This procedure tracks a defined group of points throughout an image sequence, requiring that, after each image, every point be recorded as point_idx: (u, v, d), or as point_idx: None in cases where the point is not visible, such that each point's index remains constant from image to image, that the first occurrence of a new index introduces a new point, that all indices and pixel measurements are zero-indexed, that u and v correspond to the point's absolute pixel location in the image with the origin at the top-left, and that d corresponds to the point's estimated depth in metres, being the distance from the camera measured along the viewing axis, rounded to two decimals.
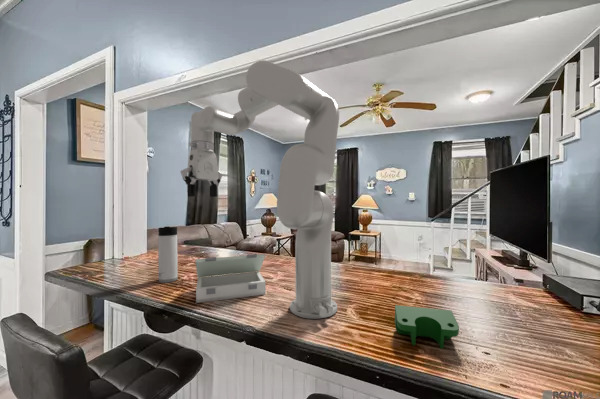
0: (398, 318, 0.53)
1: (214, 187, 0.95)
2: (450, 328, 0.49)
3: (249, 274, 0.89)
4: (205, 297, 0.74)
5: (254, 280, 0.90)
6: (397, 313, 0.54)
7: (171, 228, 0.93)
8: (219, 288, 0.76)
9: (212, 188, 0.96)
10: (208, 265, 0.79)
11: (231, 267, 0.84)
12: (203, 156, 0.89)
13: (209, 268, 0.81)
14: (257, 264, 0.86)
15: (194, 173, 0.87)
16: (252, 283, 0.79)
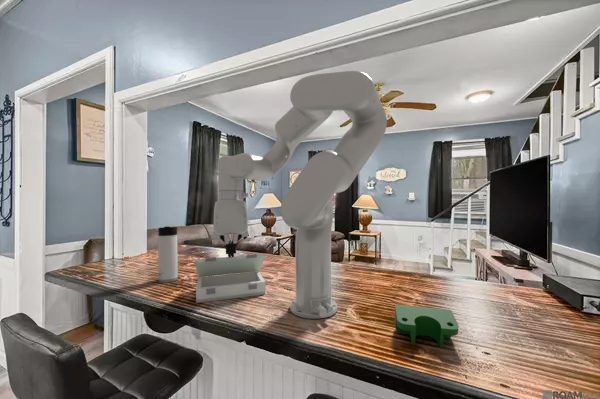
0: (398, 317, 0.53)
1: None
2: (450, 327, 0.50)
3: (249, 274, 0.89)
4: (205, 297, 0.74)
5: (254, 280, 0.90)
6: (397, 312, 0.55)
7: (171, 228, 0.93)
8: (219, 288, 0.76)
9: None
10: (208, 265, 0.79)
11: (231, 267, 0.84)
12: None
13: (209, 268, 0.81)
14: (257, 264, 0.86)
15: None
16: (252, 283, 0.79)
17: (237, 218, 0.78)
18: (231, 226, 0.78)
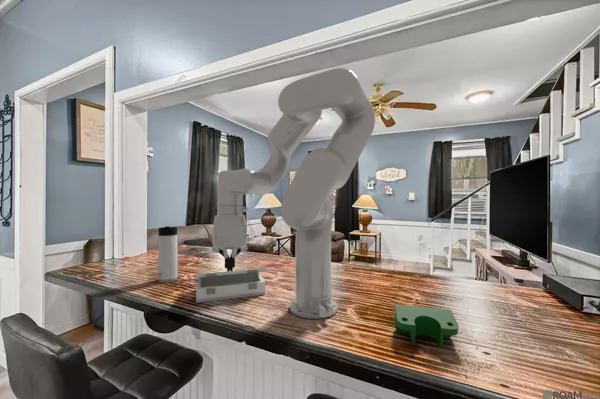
0: (398, 317, 0.53)
1: None
2: (449, 327, 0.50)
3: (249, 274, 0.89)
4: (205, 297, 0.74)
5: (254, 280, 0.90)
6: (397, 312, 0.55)
7: (171, 228, 0.93)
8: (219, 288, 0.76)
9: None
10: None
11: None
12: None
13: None
14: None
15: None
16: (252, 283, 0.79)
17: (236, 233, 0.78)
18: (230, 240, 0.78)
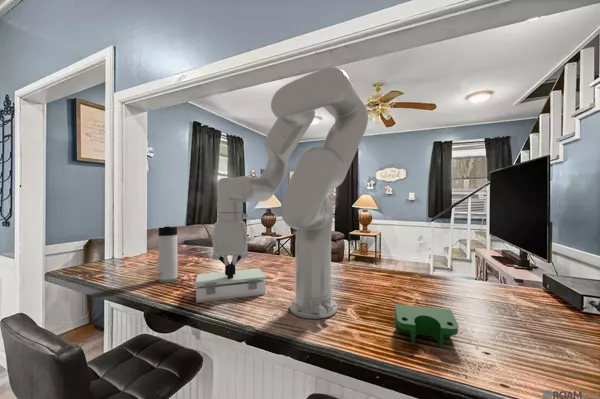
0: (398, 317, 0.53)
1: (229, 265, 0.81)
2: (449, 327, 0.50)
3: None
4: (205, 297, 0.74)
5: None
6: (397, 312, 0.55)
7: (171, 228, 0.93)
8: (219, 288, 0.76)
9: (230, 267, 0.80)
10: None
11: None
12: None
13: None
14: None
15: None
16: (252, 283, 0.79)
17: (237, 240, 0.78)
18: (231, 247, 0.78)
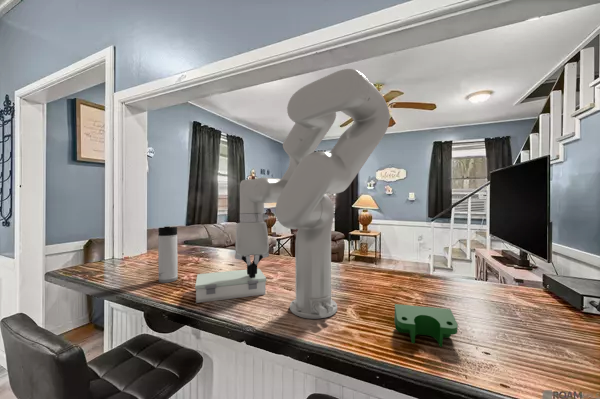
0: (398, 316, 0.54)
1: None
2: (449, 326, 0.50)
3: None
4: (205, 297, 0.74)
5: None
6: (397, 312, 0.55)
7: (171, 228, 0.93)
8: (219, 288, 0.76)
9: None
10: None
11: None
12: None
13: None
14: None
15: None
16: None
17: (259, 240, 0.80)
18: (253, 247, 0.80)
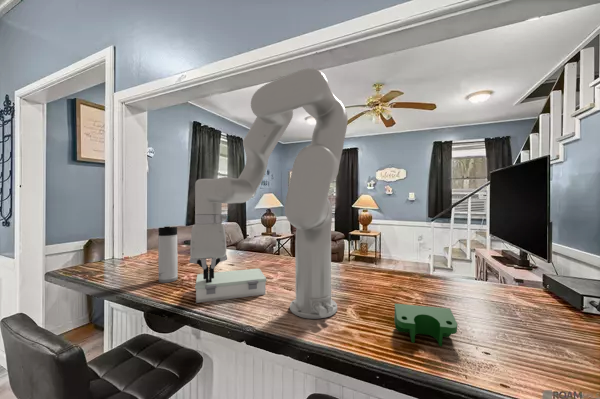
0: (398, 316, 0.54)
1: None
2: (449, 325, 0.50)
3: None
4: (205, 297, 0.74)
5: None
6: (397, 311, 0.55)
7: (171, 228, 0.93)
8: (219, 288, 0.76)
9: (208, 271, 0.78)
10: None
11: None
12: None
13: None
14: None
15: None
16: None
17: (215, 242, 0.76)
18: (208, 250, 0.75)
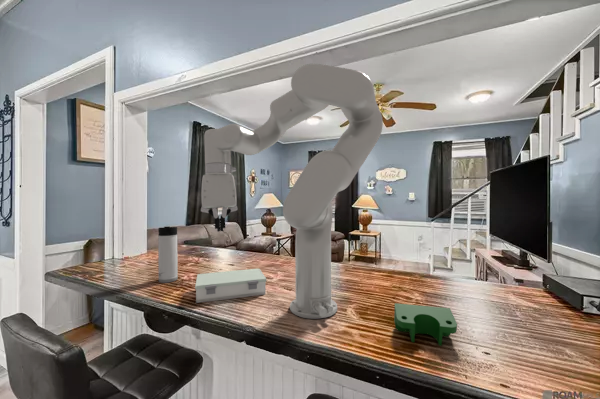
0: (397, 315, 0.54)
1: None
2: (448, 325, 0.50)
3: None
4: (205, 297, 0.74)
5: None
6: (396, 311, 0.55)
7: (171, 228, 0.93)
8: (219, 288, 0.76)
9: None
10: None
11: None
12: None
13: None
14: None
15: None
16: None
17: (225, 191, 0.77)
18: (219, 199, 0.77)
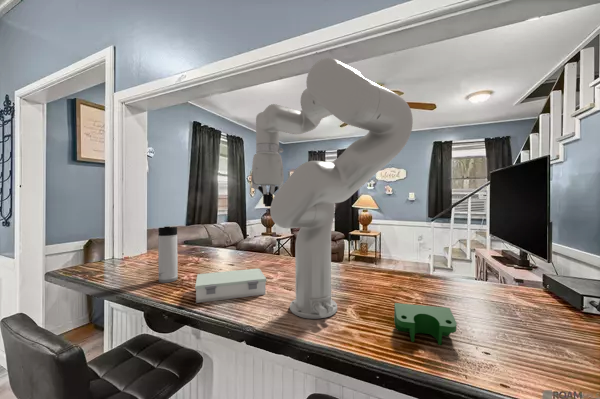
0: (397, 315, 0.54)
1: None
2: (448, 325, 0.51)
3: None
4: (205, 297, 0.74)
5: None
6: (396, 310, 0.56)
7: (171, 228, 0.93)
8: (219, 288, 0.76)
9: None
10: None
11: None
12: None
13: None
14: None
15: None
16: None
17: (274, 170, 0.84)
18: (269, 177, 0.83)
